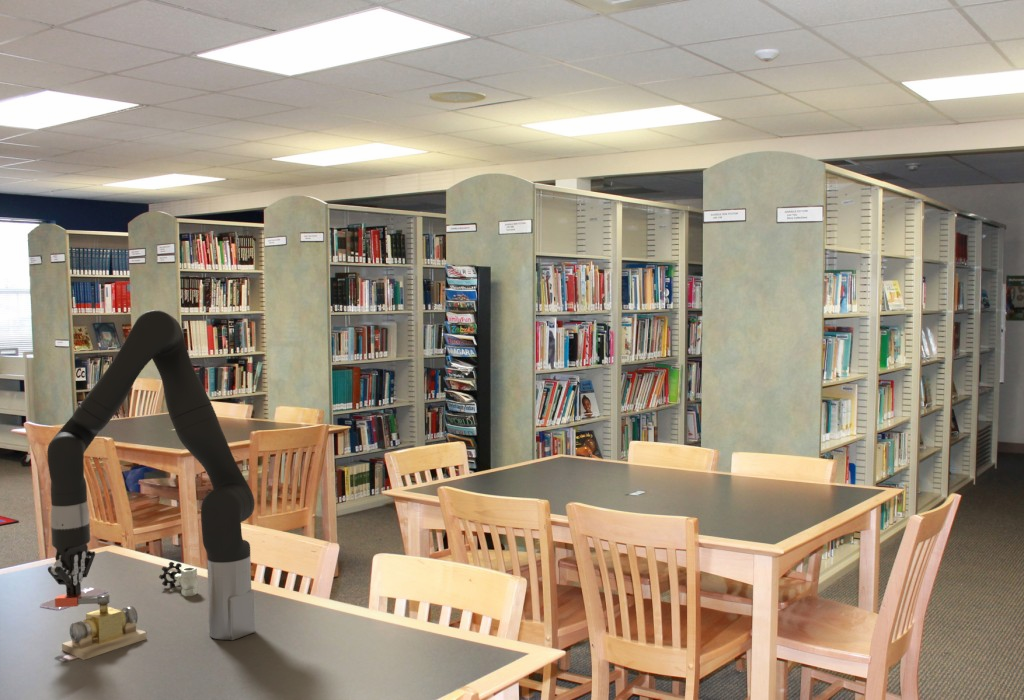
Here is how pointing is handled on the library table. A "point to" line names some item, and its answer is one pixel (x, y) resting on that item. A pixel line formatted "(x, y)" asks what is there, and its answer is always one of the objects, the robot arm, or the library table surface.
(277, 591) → the library table surface
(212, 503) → the robot arm
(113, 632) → the valve body
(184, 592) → the valve
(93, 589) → the mobile phone
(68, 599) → the valve lever
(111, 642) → the pipe board
